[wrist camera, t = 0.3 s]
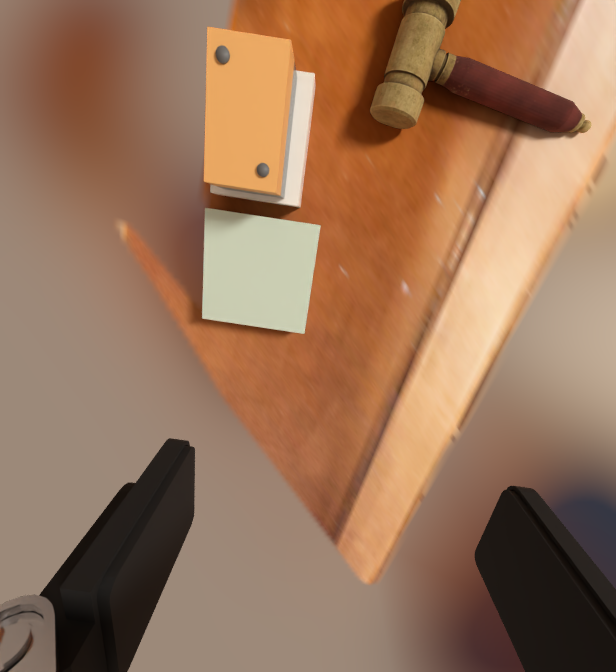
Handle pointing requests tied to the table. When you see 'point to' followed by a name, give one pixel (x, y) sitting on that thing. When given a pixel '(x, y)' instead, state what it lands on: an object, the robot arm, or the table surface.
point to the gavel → (458, 77)
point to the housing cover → (247, 110)
